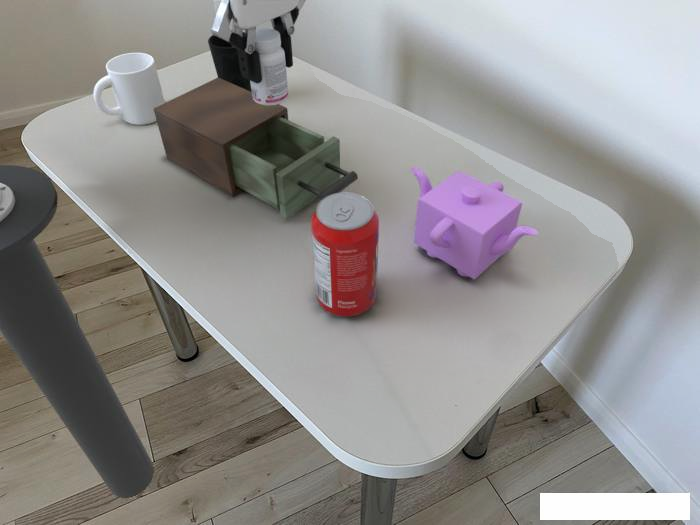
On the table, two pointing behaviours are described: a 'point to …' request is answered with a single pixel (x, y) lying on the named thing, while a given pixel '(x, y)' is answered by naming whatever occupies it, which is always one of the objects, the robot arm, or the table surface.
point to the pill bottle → (270, 69)
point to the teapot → (466, 222)
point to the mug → (132, 88)
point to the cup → (227, 62)
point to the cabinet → (211, 128)
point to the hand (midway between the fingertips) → (267, 70)
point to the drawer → (288, 166)
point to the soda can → (345, 253)
